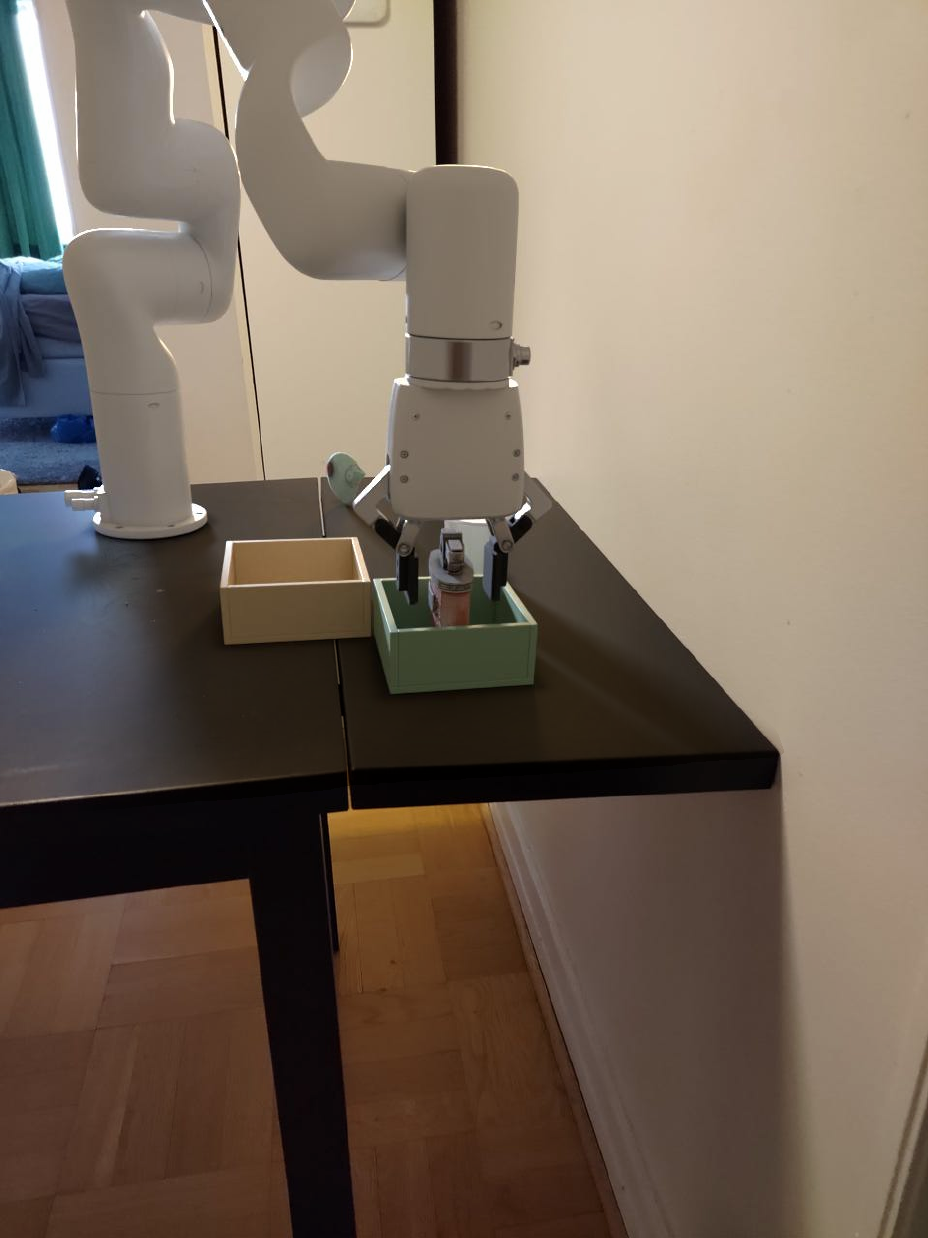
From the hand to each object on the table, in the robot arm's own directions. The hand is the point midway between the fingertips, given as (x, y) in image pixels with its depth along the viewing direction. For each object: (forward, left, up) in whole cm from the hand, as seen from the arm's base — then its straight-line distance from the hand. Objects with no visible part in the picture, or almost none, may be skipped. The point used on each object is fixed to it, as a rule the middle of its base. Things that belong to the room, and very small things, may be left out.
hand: (451, 594), depth 68 cm
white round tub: (+6, +17, -6) cm, 19 cm away
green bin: (0, 0, -6) cm, 6 cm away
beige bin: (-12, +11, -6) cm, 17 cm away
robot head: (-5, +47, -6) cm, 48 cm away
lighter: (0, 0, -5) cm, 5 cm away
